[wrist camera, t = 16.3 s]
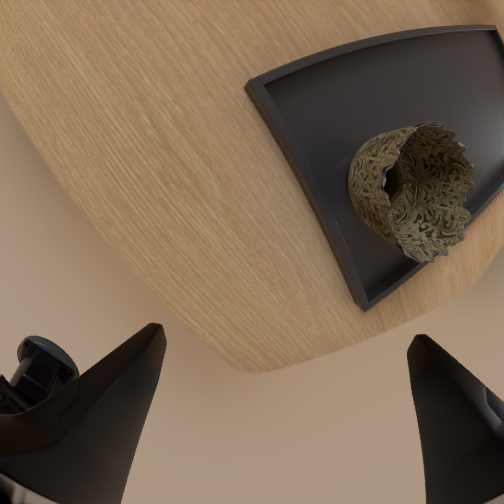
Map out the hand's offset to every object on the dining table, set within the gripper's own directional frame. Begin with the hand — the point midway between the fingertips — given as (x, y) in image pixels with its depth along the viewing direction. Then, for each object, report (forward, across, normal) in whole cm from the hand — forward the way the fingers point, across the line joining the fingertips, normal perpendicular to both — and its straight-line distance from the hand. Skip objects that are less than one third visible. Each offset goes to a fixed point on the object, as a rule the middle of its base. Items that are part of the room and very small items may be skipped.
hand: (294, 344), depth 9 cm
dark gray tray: (+18, -18, -10) cm, 28 cm away
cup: (+13, -6, -3) cm, 15 cm away
